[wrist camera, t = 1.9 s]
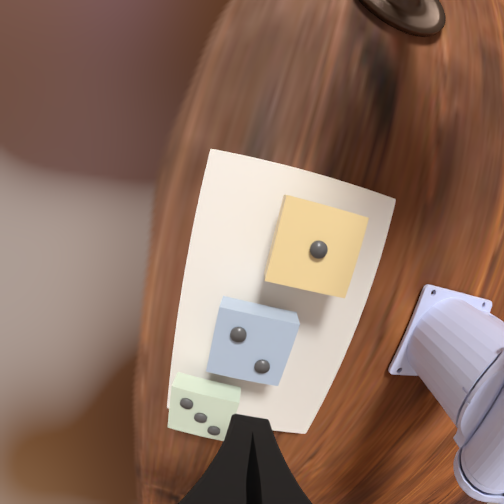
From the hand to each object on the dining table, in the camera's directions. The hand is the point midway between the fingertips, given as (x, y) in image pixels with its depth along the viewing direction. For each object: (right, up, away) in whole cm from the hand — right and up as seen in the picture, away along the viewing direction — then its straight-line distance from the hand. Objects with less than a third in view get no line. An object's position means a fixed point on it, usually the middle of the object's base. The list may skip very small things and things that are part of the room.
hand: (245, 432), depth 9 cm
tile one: (+4, +7, +7) cm, 11 cm away
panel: (+1, +2, +10) cm, 10 cm away
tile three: (-3, -4, +9) cm, 11 cm away
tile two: (0, +2, +8) cm, 8 cm away
